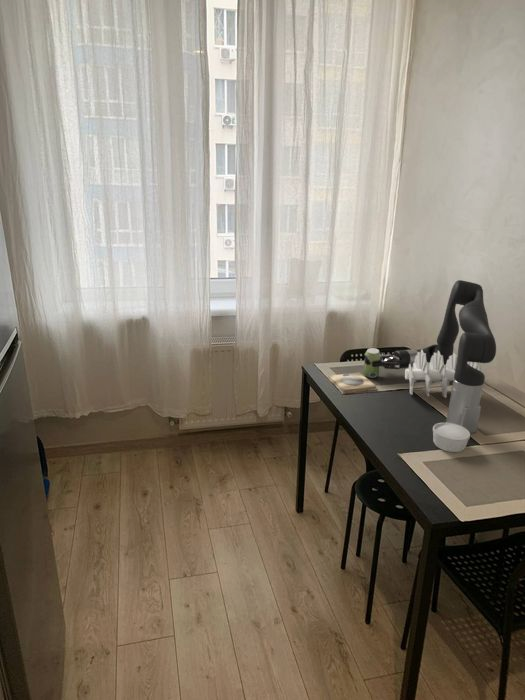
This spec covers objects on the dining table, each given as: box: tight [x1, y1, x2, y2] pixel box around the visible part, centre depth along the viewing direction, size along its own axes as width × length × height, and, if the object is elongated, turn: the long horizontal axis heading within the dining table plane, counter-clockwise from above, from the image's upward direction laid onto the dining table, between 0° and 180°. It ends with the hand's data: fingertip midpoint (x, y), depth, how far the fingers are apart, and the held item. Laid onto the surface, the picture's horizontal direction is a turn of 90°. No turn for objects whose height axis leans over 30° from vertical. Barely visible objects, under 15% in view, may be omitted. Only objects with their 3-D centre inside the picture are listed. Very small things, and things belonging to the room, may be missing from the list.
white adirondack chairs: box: [404, 350, 481, 398], centre depth 193 cm, size 18×18×25 cm
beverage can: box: [363, 347, 381, 379], centre depth 209 cm, size 6×7×12 cm
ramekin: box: [432, 422, 471, 453], centre depth 161 cm, size 11×11×5 cm
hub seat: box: [328, 372, 377, 394], centre depth 203 cm, size 14×14×2 cm
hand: (369, 362), depth 207 cm, fingers closed on beverage can, 4 cm apart
